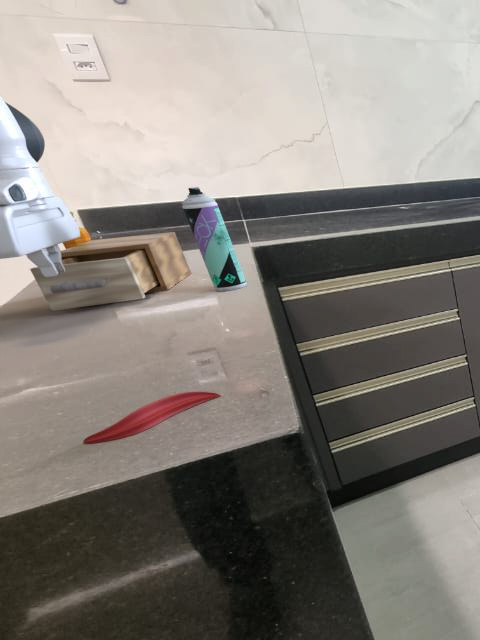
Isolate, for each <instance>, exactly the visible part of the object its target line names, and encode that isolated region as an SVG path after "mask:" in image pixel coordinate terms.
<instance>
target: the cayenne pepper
mask: <svg viewBox="0 0 480 640" xmlns="http://www.w3.org/2000/svg"><path fill="white" fill-rule="evenodd" d="M220 397H222V395H220V394H219V393H216V392H211V391H210V392H209V391H187V392H186V391H185V392H180V393H176V394H171V395H168V396H166V397H163V398H160V399H158V400H155V401H152V402H150V403H147V404H146V405H144V406H141V407H139V408H138V409H136V410H134V411H132V412H130V413H129V414H127V415H126V416H125V417H123V418H122V419H120V420H118V421H117V422H116V423H114V424H112V425H110V426H108V427H107V428H104V429H102V430H100V431H98V432H95V433H93V434H91V435H88V436H87V437H86V438H84V440H83V441H82V443H83V444H96V443H103V442H109V441H114V440H118V439H122V438H123V439H124V438H127V437H130V436H133V435H136V434H139V433H142V432H144V431H146V430H149V429H150V428H153V427H155V426H157V425H158V424H160V423H161V422H163V421H165V420H167V419H169V418H171V417H173V416H175V415H177V414H180V413H181V412H184V411H186V410H188V409H191V408H193V407H196V406H198V405H200V404H202V403H205V402H208V401H210V400H213V399H217V398H220Z"/></svg>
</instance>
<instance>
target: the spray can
mask: <svg viewBox="0 0 480 640" xmlns="http://www.w3.org/2000/svg"><path fill="white" fill-rule="evenodd" d="M187 188H188V194H187V195H186V198H185V199H184V200H183V201H181V205H182V209H183V213H184V214H185V217H186V219H187V222H188V224H189V227H190V229H191V233H192V235H193V237H194V240H195V241H196V242H195V243H196V245H197V248H198V250H199V252H200V255H201V257H202V260H203V262H204V265H205V267H206V270H207V272H208V275H209V277H210V280H211V282H212V285H213V288H214V290H215V292H226V291H235V290H238V289H242V288H245V287H247V286H248V284H247V280H246V278H245V275H244V273H243V270H242V267H241V264H240V261H239V259H238V256H237V253H236V251H235V249H234V246H233V242H232V240H231V237H230V235H229V232H228V229H227V226H226V224H225V221H224V218H223V216H222V212H221V210H220V208H219V204H218V203H217V202H216V198H212V197H210V196H208V195H206V193H204V192H203V191H201V189H200V187H198V186H197V187H196V186H195V187H187Z"/></svg>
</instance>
